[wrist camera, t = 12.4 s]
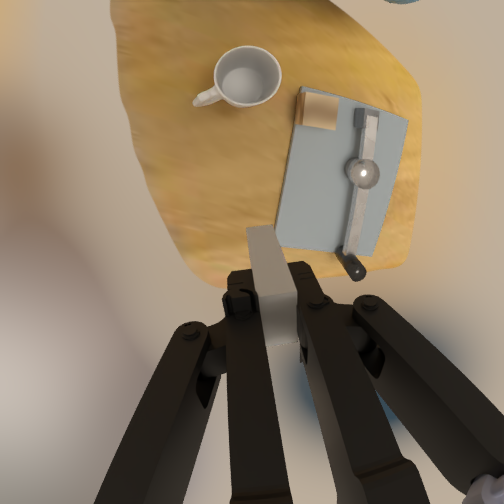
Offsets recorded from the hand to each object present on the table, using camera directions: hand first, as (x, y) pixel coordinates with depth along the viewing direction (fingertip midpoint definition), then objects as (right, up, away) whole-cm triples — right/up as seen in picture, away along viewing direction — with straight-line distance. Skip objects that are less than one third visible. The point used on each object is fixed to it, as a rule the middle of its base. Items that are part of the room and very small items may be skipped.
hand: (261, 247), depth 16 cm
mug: (-3, +22, +18) cm, 29 cm away
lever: (+15, +10, +24) cm, 30 cm away
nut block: (+8, +20, +19) cm, 28 cm away
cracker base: (+14, +11, +25) cm, 31 cm away
